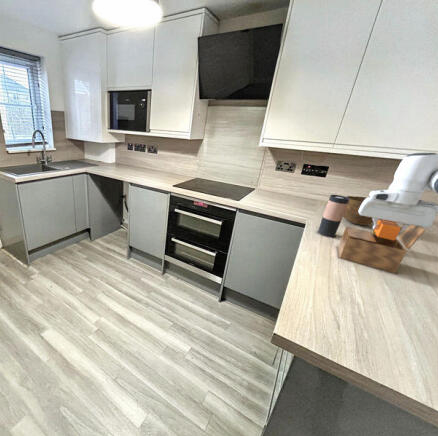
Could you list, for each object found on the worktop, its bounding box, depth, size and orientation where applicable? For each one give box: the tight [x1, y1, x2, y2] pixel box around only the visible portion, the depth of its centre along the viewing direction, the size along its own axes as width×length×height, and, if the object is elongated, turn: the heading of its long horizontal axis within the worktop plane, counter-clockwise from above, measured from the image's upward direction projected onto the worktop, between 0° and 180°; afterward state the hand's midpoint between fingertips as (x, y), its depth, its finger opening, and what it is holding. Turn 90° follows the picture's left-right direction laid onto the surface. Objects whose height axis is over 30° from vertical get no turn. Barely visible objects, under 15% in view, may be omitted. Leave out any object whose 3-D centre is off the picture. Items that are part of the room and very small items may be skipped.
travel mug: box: [317, 194, 349, 238], centre depth 117 cm, size 8×8×20 cm
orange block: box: [374, 219, 401, 241], centre depth 92 cm, size 5×8×5 cm, turn 144°
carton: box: [337, 226, 408, 274], centre depth 96 cm, size 17×13×10 cm
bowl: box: [343, 195, 374, 226], centre depth 137 cm, size 19×19×15 cm
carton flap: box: [398, 225, 426, 251], centre depth 88 cm, size 8×13×1 cm
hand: (385, 231), depth 92 cm, fingers closed on orange block, 5 cm apart
